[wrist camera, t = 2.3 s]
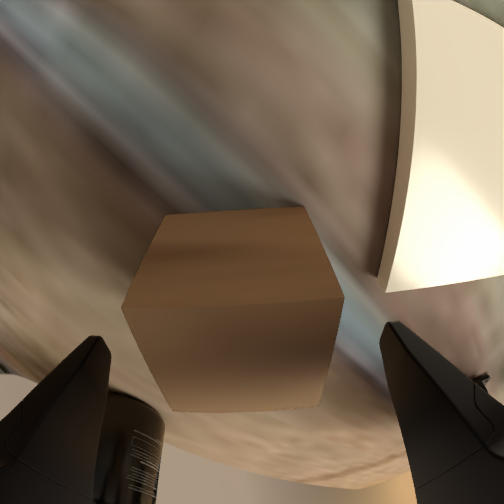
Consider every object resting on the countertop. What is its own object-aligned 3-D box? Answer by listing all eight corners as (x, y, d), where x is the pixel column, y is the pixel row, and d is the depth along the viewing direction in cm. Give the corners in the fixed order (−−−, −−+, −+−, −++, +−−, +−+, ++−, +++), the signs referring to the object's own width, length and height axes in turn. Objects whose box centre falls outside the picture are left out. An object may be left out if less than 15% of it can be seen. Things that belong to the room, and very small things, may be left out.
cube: (298, 309, 13) (318, 405, 9) (188, 314, 13) (172, 411, 9) (303, 205, 10) (344, 297, 6) (166, 214, 10) (121, 307, 6)
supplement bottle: (73, 377, 16) (33, 526, 6) (165, 400, 17) (147, 565, 7) (93, 417, 20) (69, 532, 10) (166, 434, 21) (156, 557, 11)
